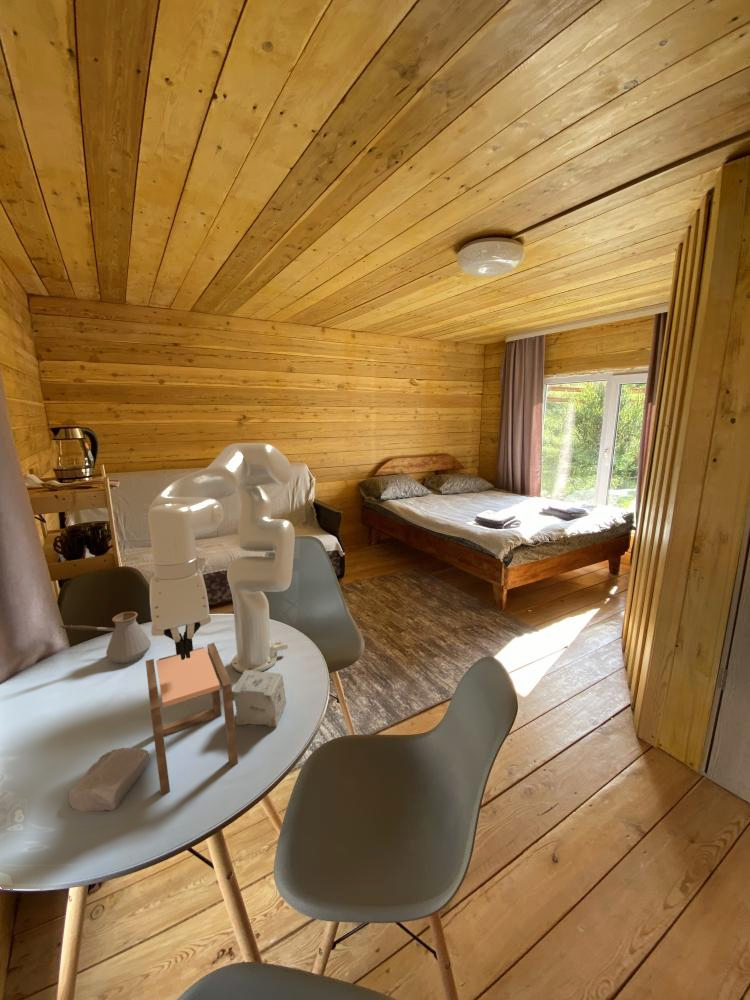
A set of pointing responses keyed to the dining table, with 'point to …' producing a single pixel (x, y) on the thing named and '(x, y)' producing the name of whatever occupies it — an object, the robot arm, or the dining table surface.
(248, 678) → the white speckled block
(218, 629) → the dining table surface
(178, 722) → the stand
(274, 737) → the dining table surface
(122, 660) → the coffee pot
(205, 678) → the trapdoor
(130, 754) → the stone block
